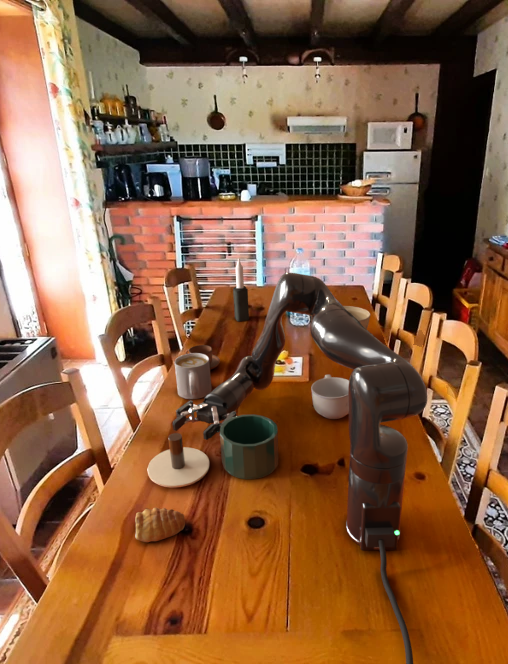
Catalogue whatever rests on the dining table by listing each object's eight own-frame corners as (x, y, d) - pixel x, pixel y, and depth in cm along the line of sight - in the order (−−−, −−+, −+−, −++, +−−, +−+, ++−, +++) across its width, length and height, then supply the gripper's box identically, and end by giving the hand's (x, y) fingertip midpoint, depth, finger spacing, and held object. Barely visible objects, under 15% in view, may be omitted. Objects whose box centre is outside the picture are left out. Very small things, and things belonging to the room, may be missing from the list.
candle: (234, 318, 199) (230, 257, 189) (245, 316, 200) (242, 256, 191) (237, 321, 194) (234, 260, 185) (249, 319, 196) (247, 258, 186)
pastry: (183, 512, 95) (181, 497, 94) (187, 538, 89) (185, 522, 88) (135, 521, 94) (132, 505, 92) (136, 547, 88) (133, 531, 86)
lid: (207, 488, 102) (204, 454, 98) (142, 490, 102) (137, 457, 99) (211, 450, 114) (208, 418, 111) (153, 452, 115) (149, 421, 112)
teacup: (354, 425, 120) (355, 397, 117) (310, 422, 123) (310, 395, 120) (352, 398, 133) (353, 371, 130) (312, 396, 135) (312, 370, 132)
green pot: (280, 478, 103) (279, 445, 100) (221, 480, 104) (218, 447, 101) (276, 444, 115) (275, 413, 112) (223, 446, 115) (221, 415, 112)
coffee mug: (181, 382, 147) (178, 353, 143) (213, 383, 146) (211, 352, 142) (171, 405, 135) (167, 373, 131) (206, 405, 134) (203, 373, 130)
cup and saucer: (178, 374, 153) (176, 356, 151) (190, 358, 164) (188, 341, 162) (214, 376, 150) (213, 358, 148) (224, 360, 161) (223, 342, 159)
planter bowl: (371, 352, 160) (372, 321, 156) (321, 351, 163) (322, 321, 159) (366, 333, 175) (367, 305, 171) (320, 333, 178) (321, 305, 173)
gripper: (200, 381, 125) (162, 410, 112) (249, 392, 118) (214, 424, 105) (203, 406, 128) (165, 438, 115) (250, 418, 121) (216, 453, 108)
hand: (189, 431), depth 110 cm, fingers open, 8 cm apart
